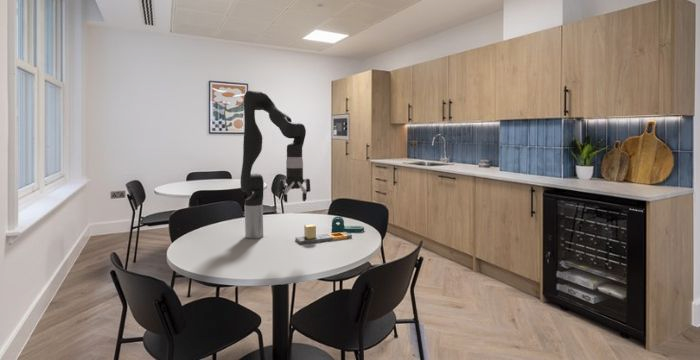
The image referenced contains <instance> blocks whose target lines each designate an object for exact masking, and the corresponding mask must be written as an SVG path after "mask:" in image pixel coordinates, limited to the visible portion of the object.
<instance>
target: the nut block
mask: <svg viewBox="0 0 700 360" xmlns="http://www.w3.org/2000/svg"><path fill="white" fill-rule="evenodd" d="M303 228H304V230H303V231H304V234H303V235H304V236H305V239H306V240H311V239H316V235H317V227H316V225H315V224H313V223H312V224H304V226H303ZM304 236H303V237H304Z"/></svg>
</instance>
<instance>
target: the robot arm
mask: <svg viewBox="0 0 700 360" xmlns="http://www.w3.org/2000/svg"><path fill="white" fill-rule="evenodd" d="M256 111H264V112H266V113H268V118H269V120H270V122H272V124H274V125H275V126H276V127H277V128H278V129H279V131H280V132H281V134H282V135H283V136H284V138H288V139H293V141H292V143H289V144H287V146H286V163H285V164H286V171H285V172H286V173H285V174H286V176H285V177H286V179H280V180H279V185H278V190H279V191H278V192H279V193H280V194H282V196H283V197H282V199H283V201H284V203H288V193H289V192H290V191H291V190H295V189H297V190H298V189H300V190H301V192H302V197H301V198H302V202H306V200H307V193H310V192H311V180H310V178H305V179H304V160H303V147H304V143H305V138H306V133H307V132H306V131H307V130H306V127H305V125H304V124H303V123H302V122H292V119H291V117H290V116H289V115H288V114H286V113H285V112H283V111H282V109H280V108H279V107H278V106H277V105H276V103H275V102H274V101H273V100H272V99H271V98H270V97H269V95H268V94H267V93H266V92H264V91H259V90H247V91H246V92H245V93H244V97H243V116H244V117H243V119H244V124H243V126H244V128H243V129H244V130H243V144H242V145H243V147H242V150H243V151H242V153H243V154H242V165H241V166H242V167H241V173H240V189H241V191H242V192H243V193H252V194H251V195H250V196H249V197H247V198H245V199H244V205H243V206H244V231H245V238H246V239H254V240H255V239H261V238H264V207H263V205H264V204H263V202H264V186H265V184H264V178H263V176H262V174H261V173H252V168H253V166H254V163H255V162H256V160H257V159H258V158H259V156H260V155H261V153H262V150H263V135H262V132H261V130H260V128H259V127H258V124H257V122H256V115H255V114H256ZM285 184H286V186H285V187H284V185H285ZM303 184H305V187H304V186H303ZM284 188H285V189H284Z"/></svg>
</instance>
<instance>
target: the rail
mask: <svg viewBox="0 0 700 360" xmlns="http://www.w3.org/2000/svg"><path fill="white" fill-rule="evenodd" d="M352 238H353V235H352V234H351V233H350V232H331V233H323V234H322V233H321V234H316V239H311V240H306V239H305V236H298V237H297V236H296V237H295V238H294V239H295V242H296V243H298V244H299V245H305V244H306V245H307V244H316V243H323V242H331V241H332V240H333V241H338V240H339V239H340V240H346V239H347V240H348V239H352ZM340 240H339V241H340Z"/></svg>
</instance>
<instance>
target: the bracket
mask: <svg viewBox="0 0 700 360" xmlns="http://www.w3.org/2000/svg"><path fill="white" fill-rule="evenodd" d="M338 232H347V233H364V232H365V226H361V225H345V220H344V218H343V217H342V216H340V215H338V216H334V217H333V219H332V221H331V233H338Z"/></svg>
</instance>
